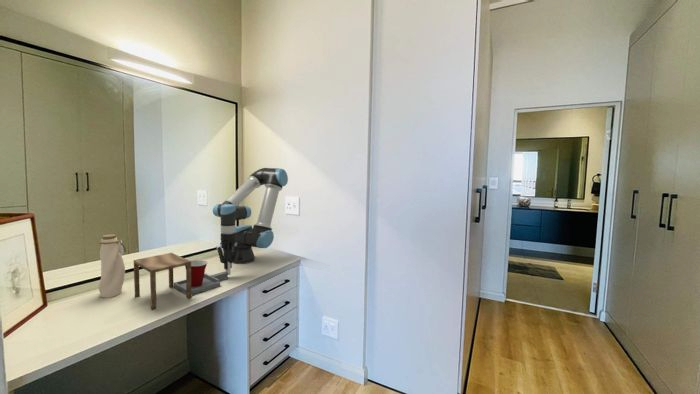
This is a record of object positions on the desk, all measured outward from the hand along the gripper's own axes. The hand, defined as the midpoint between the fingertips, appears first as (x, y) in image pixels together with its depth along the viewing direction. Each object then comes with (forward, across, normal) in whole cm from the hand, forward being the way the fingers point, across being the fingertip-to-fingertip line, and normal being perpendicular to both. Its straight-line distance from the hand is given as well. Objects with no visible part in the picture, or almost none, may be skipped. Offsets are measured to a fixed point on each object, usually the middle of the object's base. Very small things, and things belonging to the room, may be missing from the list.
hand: (227, 274), depth 160 cm
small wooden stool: (+2, +32, 0) cm, 32 cm away
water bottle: (+2, +45, -21) cm, 50 cm away
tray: (+2, +13, 0) cm, 13 cm away
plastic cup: (+1, +17, -1) cm, 17 cm away
